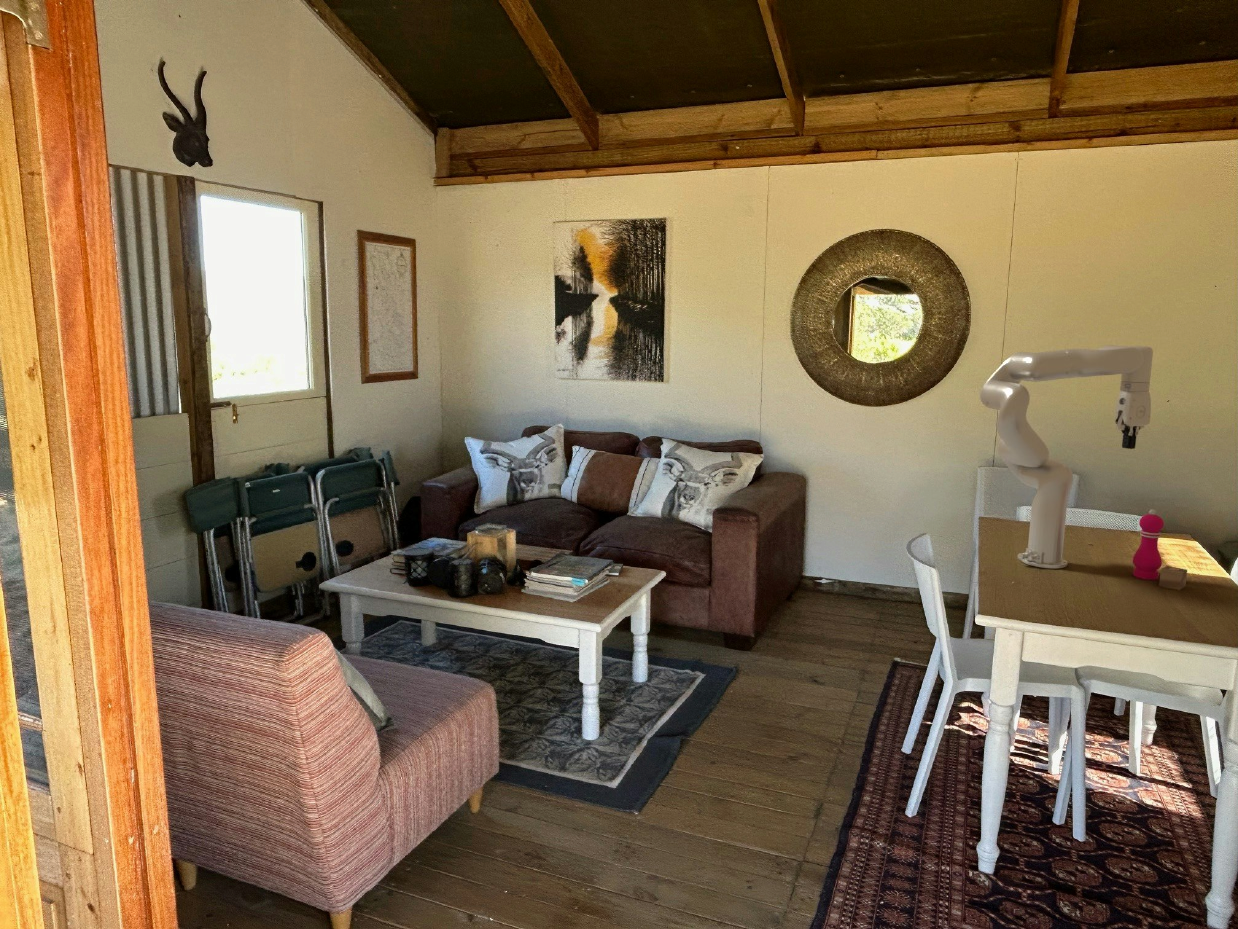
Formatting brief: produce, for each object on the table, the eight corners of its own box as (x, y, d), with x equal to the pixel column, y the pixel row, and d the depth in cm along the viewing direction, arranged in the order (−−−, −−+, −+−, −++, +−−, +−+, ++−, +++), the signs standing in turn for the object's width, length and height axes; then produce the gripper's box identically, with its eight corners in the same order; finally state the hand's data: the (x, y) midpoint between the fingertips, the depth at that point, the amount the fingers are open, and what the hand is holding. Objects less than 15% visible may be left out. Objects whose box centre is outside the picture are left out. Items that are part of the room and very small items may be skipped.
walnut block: (1179, 590, 240) (1181, 572, 239) (1159, 586, 244) (1161, 568, 243) (1185, 586, 243) (1187, 569, 242) (1165, 582, 247) (1167, 565, 246)
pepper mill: (1164, 581, 248) (1172, 512, 244) (1136, 579, 249) (1144, 511, 246) (1154, 573, 255) (1161, 507, 251) (1127, 572, 256) (1134, 506, 253)
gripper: (1129, 389, 254) (1122, 451, 257) (1163, 387, 260) (1156, 448, 263) (1105, 387, 261) (1100, 447, 264) (1139, 385, 267) (1133, 445, 270)
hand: (1128, 448), depth 263 cm, fingers closed
